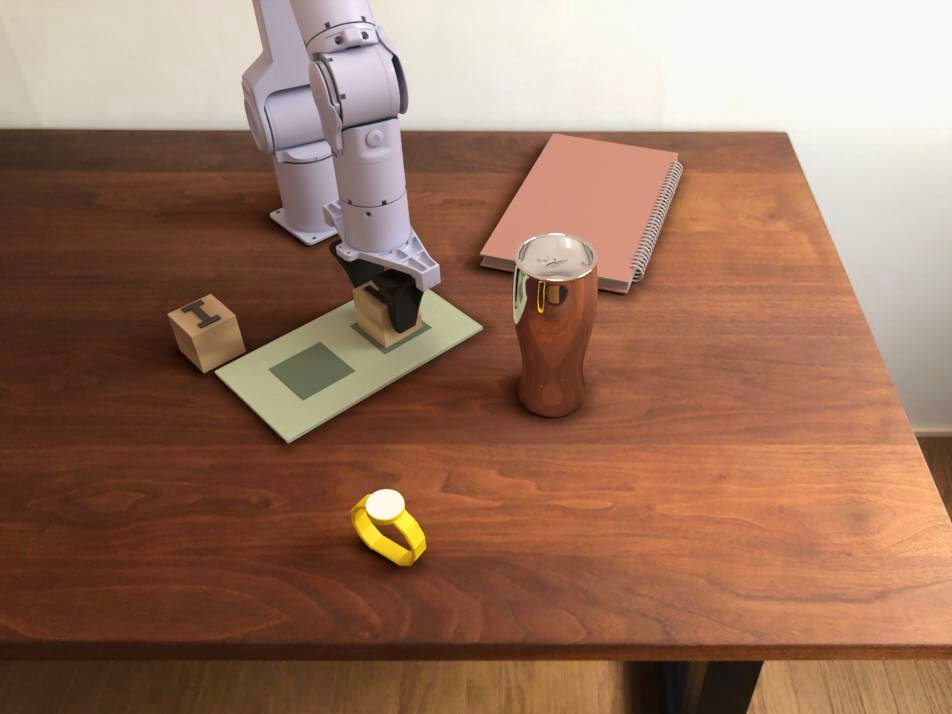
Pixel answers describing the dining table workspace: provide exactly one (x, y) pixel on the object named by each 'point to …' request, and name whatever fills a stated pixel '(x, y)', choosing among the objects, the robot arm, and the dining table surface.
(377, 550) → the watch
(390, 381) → the word mat
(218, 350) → the block
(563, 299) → the beer glass
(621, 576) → the dining table surface
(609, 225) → the notebook
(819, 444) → the dining table surface
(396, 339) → the block
